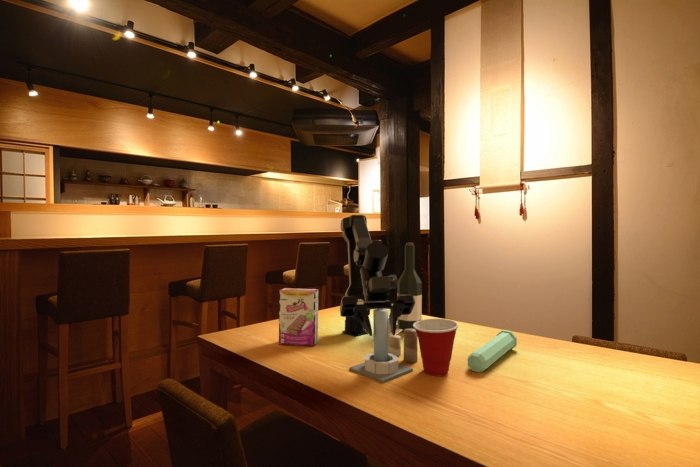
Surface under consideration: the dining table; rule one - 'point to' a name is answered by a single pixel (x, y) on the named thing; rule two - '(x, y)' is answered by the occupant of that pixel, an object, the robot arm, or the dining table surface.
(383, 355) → the long dowel
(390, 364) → the socket
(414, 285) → the wine bottle
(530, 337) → the dining table surface
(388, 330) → the architectural model
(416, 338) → the medium dowel
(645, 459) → the dining table surface
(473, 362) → the container
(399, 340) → the short dowel
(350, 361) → the dining table surface
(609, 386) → the dining table surface
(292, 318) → the candy bar box
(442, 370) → the plastic cup
